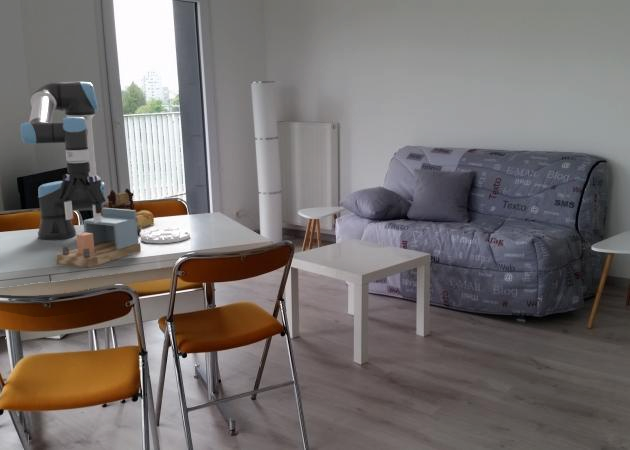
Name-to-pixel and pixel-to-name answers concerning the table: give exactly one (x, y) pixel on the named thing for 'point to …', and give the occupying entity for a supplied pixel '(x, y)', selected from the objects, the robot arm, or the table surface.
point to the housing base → (95, 254)
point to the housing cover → (114, 227)
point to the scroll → (121, 202)
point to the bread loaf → (144, 218)
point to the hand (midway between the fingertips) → (83, 220)
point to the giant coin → (164, 235)
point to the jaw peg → (85, 242)
